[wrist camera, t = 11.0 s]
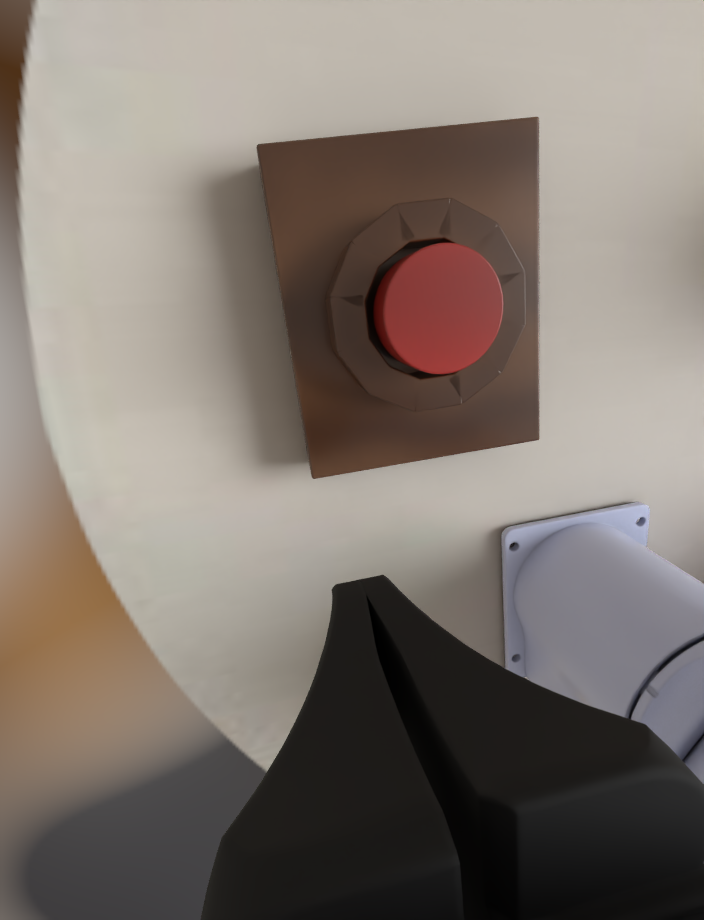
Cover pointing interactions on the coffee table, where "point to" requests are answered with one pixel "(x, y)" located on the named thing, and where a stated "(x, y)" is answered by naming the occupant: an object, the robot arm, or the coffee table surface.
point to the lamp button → (439, 308)
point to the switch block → (371, 256)
